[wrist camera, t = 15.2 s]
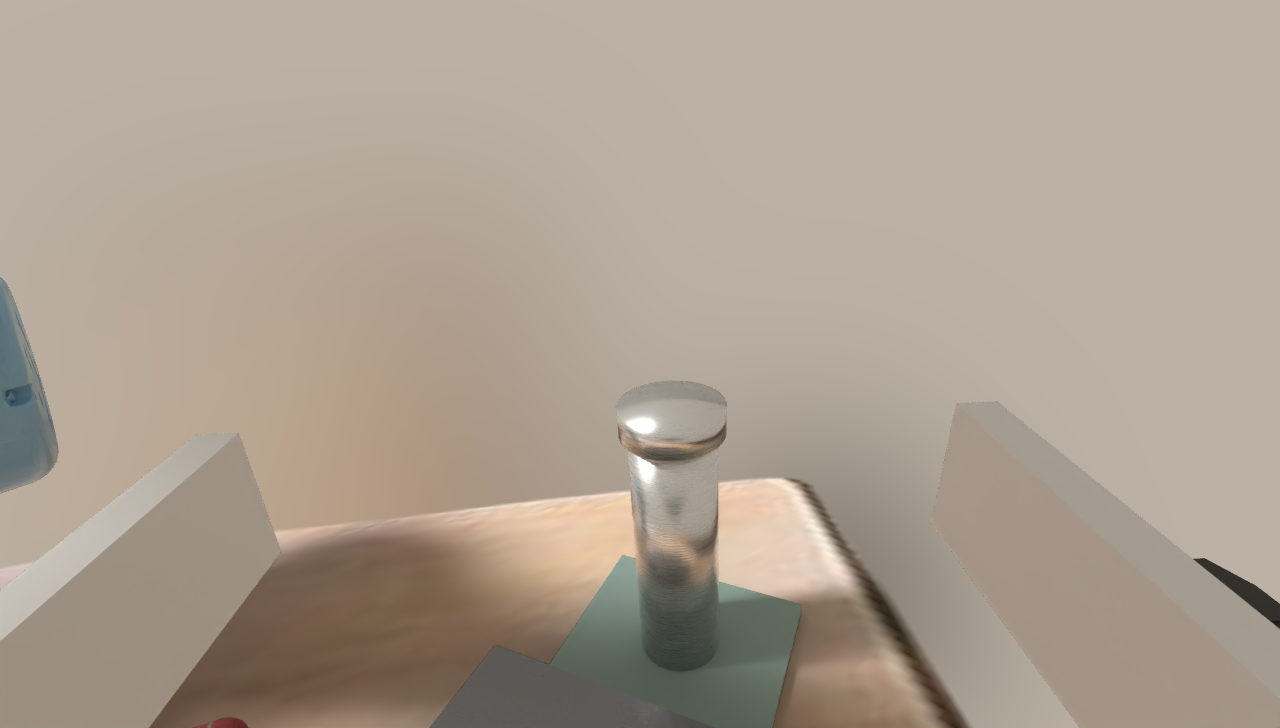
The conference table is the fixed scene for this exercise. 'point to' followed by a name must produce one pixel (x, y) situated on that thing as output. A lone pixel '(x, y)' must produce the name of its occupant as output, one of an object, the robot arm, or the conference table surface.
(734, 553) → the conference table surface
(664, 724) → the socket plate
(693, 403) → the steel pin
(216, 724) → the pliers
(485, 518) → the conference table surface
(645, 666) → the rubber mat
